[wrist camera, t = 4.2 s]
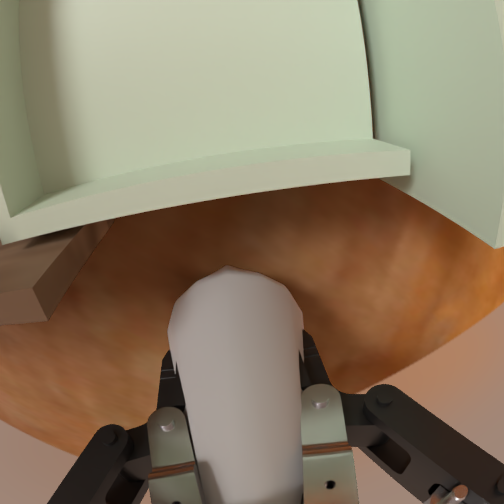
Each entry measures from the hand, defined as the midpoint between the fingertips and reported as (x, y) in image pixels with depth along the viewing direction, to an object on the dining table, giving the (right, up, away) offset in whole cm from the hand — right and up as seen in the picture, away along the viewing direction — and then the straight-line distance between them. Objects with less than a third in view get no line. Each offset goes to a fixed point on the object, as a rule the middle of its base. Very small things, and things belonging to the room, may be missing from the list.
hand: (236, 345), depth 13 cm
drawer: (-2, +14, -4) cm, 14 cm away
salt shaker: (0, +1, +3) cm, 3 cm away
